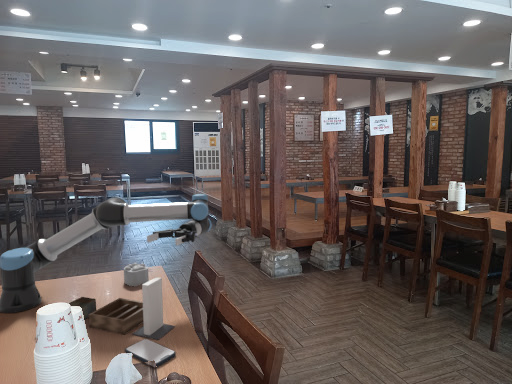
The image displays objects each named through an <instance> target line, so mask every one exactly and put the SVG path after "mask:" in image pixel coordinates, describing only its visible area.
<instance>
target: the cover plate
mask: <svg viewBox="0 0 512 384" xmlns="http://www.w3.org/2000/svg"><path fill="white" fill-rule="evenodd" d="M141 288H142V289H141V292H142V302H143V320H144V322H143V326H144V334H145V335H151V334H152V333H154V332H155V331H156V330H158V329H159V328H160V327H162V326H163V324H164V307H163V306H164V305H163V279H162V277H158V276H157V277H154V278H152V279H149V281H148V282H146V283H144V284H142V285H141Z"/></svg>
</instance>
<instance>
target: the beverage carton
mask: <svg viewBox="0 0 512 384" xmlns="http://www.w3.org/2000/svg"><path fill="white" fill-rule="evenodd" d="M69 304H70V305H71V306H80V307H81V308H82V311H83V315H84V320H86V319H87V318H88V319H89V314H90V313H92V312H94V311H96V310H97V299H96V298H91V297H85V296H81V297H79V298H77V299H75V300H73V301H71V302H69Z"/></svg>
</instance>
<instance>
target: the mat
mask: <svg viewBox="0 0 512 384" xmlns="http://www.w3.org/2000/svg"><path fill="white" fill-rule="evenodd" d="M175 326H176V325H173V324H167V323H163V326H162V327H160V328H159V329H158V330H156V331H155V332H154V333H152V334H151V335H145V334H144V325H142V326H141V327H139V328H138V329H136V330H135V331H134V332H132V333H131V334H132V336H138V337H142V338H145V339H150V340H157V341H159V340H160V339H162V338H163V337H164V336H165V335H167V334H169V332H170V331H171V330H173V329H174V328H175Z"/></svg>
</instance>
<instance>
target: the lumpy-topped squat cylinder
mask: <svg viewBox="0 0 512 384" xmlns="http://www.w3.org/2000/svg"><path fill="white" fill-rule="evenodd" d="M123 280H124V281H123V283H124V284H125V285H126V284H127V285H126V286H128V285H129V286H128V287H132V286H134V287H139V286H141V285H140V284H144V283H146V282H148V281H150V277H149V267H148V266H146V265H145V263H140V264H138V263H137V262H134V263H132V264H131V263H130V264H128V265H125V267H123ZM138 285H139V286H138Z"/></svg>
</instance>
